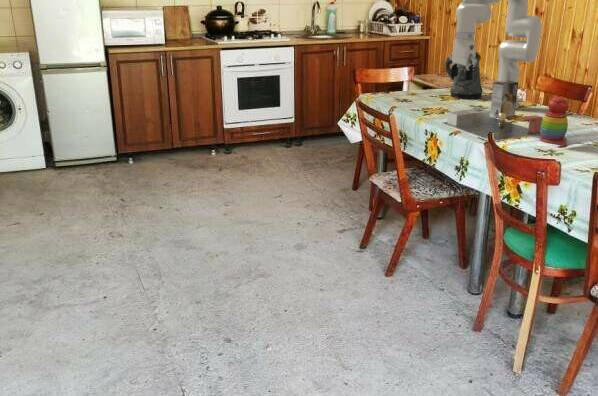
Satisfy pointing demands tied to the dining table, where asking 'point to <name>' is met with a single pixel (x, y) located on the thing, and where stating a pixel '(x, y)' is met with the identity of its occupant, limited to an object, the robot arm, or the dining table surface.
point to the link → (468, 117)
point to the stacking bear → (555, 122)
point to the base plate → (496, 130)
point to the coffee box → (504, 98)
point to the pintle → (502, 119)
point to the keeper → (532, 122)
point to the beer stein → (465, 81)
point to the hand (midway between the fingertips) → (460, 78)
